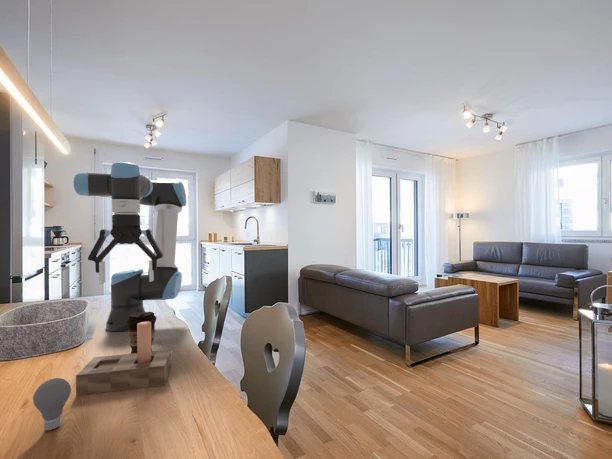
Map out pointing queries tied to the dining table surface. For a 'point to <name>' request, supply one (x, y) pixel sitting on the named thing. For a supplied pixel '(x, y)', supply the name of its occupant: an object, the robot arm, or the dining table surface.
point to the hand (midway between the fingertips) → (127, 282)
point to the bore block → (123, 373)
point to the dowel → (143, 342)
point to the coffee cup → (132, 327)
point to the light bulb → (52, 401)
